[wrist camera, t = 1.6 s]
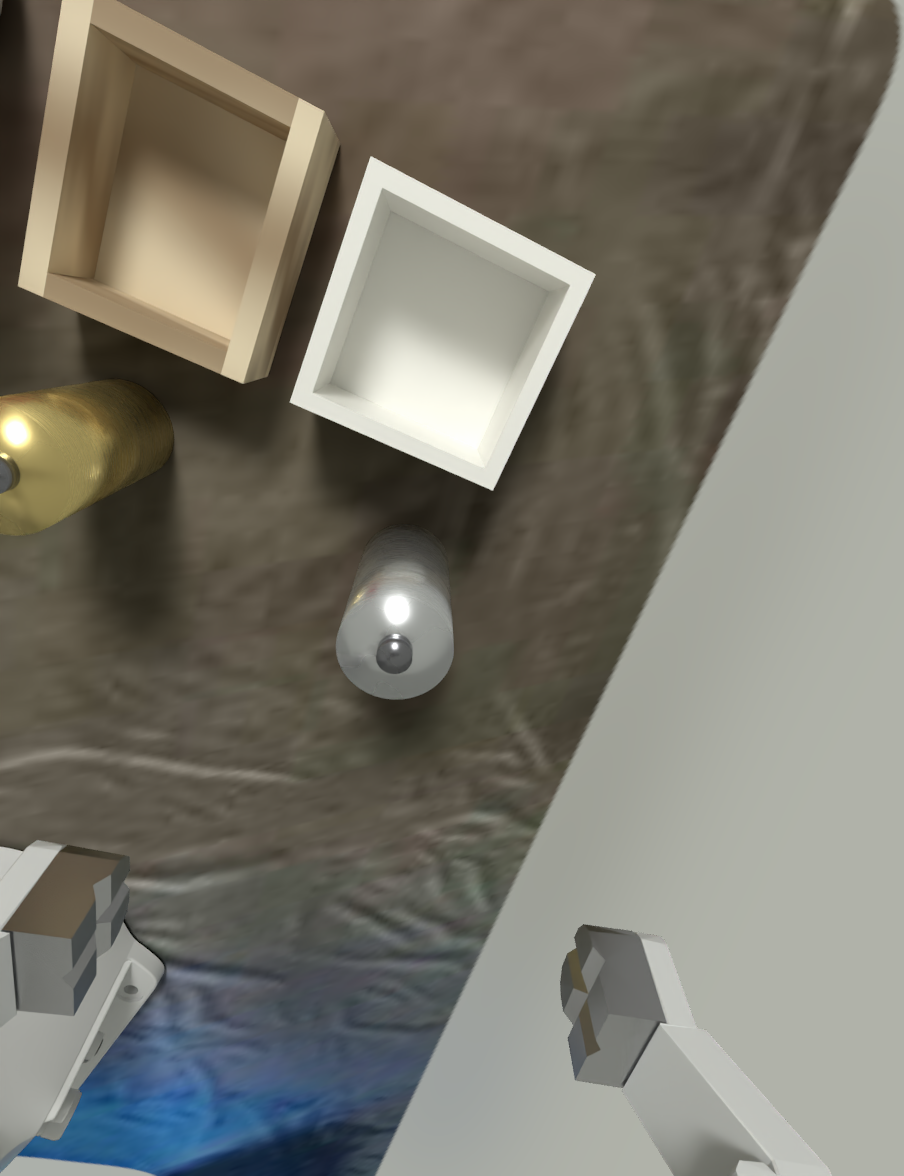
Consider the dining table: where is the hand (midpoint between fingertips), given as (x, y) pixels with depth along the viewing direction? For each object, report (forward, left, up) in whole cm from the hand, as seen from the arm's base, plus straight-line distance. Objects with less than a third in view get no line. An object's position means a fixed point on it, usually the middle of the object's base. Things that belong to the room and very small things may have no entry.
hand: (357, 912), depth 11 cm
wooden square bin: (+9, +12, -18) cm, 24 cm away
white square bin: (+9, +2, -18) cm, 21 cm away
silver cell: (0, 0, -19) cm, 19 cm away
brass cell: (+1, +13, -19) cm, 22 cm away
